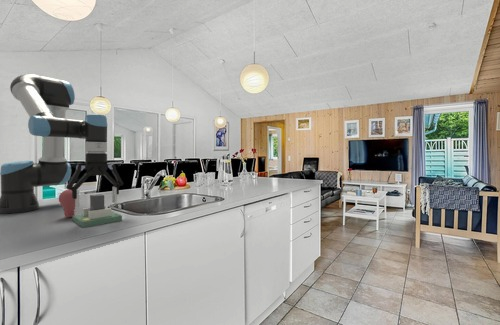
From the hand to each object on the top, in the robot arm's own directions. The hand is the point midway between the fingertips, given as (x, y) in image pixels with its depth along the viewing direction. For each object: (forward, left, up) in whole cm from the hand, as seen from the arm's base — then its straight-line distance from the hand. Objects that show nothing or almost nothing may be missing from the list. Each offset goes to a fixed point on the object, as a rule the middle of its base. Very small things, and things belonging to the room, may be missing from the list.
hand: (96, 204), depth 105 cm
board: (0, 0, -7) cm, 7 cm away
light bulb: (-13, -7, -7) cm, 16 cm away
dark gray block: (0, 0, -5) cm, 5 cm away
